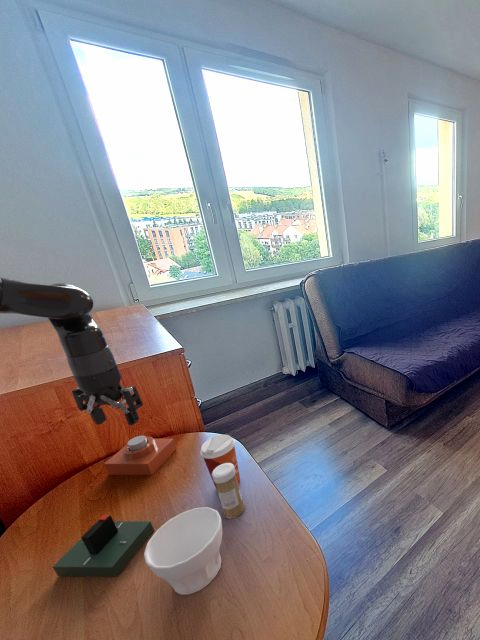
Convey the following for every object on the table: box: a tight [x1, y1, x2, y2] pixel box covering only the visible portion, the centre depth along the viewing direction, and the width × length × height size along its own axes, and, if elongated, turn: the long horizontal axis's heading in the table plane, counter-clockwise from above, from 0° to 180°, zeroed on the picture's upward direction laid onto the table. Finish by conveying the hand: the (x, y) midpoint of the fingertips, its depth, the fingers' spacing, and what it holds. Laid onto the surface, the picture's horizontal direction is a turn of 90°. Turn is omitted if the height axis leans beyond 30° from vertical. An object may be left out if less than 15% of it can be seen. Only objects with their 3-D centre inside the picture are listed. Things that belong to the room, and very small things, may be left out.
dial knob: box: [80, 514, 118, 554], centre depth 70 cm, size 5×2×5 cm, turn 179°
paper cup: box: [199, 433, 241, 491], centre depth 87 cm, size 8×8×14 cm
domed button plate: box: [103, 436, 178, 476], centre depth 95 cm, size 12×10×6 cm
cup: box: [143, 507, 223, 596], centre depth 67 cm, size 12×12×11 cm
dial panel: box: [52, 520, 155, 578], centre depth 72 cm, size 12×10×3 cm
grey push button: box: [126, 435, 148, 451], centre depth 94 cm, size 4×4×2 cm
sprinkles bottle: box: [211, 463, 246, 520], centre depth 79 cm, size 5×5×13 cm
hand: (118, 422), depth 84 cm, fingers open, 8 cm apart
